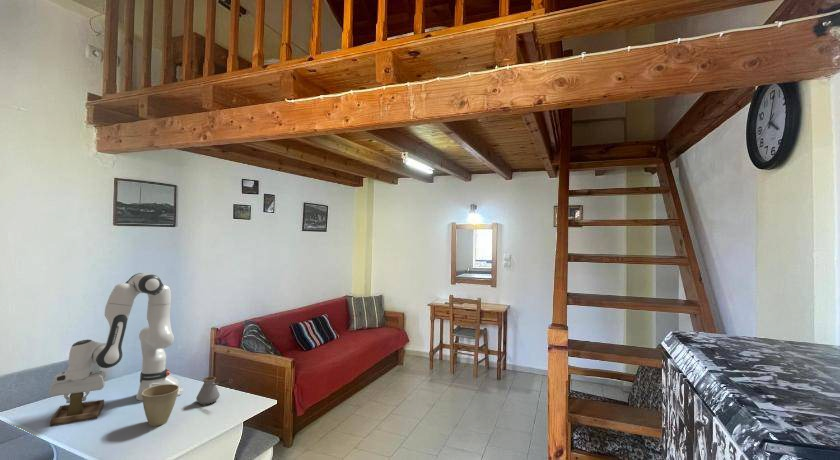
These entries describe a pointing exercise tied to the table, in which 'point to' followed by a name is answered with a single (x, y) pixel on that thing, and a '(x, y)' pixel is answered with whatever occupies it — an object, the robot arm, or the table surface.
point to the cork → (75, 404)
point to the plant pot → (159, 403)
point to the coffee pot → (209, 391)
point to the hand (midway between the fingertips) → (76, 401)
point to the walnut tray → (89, 412)
